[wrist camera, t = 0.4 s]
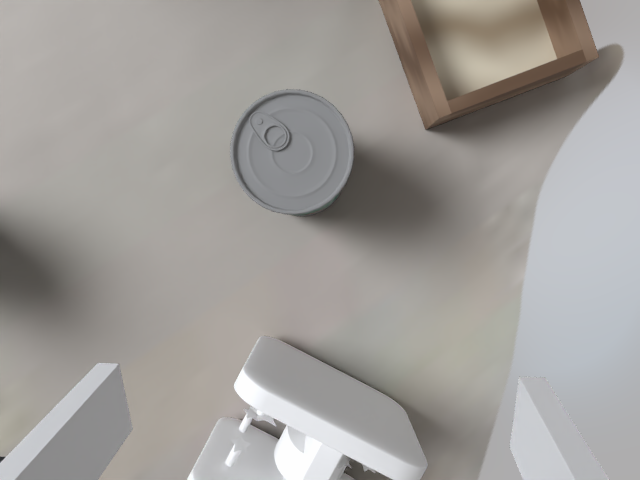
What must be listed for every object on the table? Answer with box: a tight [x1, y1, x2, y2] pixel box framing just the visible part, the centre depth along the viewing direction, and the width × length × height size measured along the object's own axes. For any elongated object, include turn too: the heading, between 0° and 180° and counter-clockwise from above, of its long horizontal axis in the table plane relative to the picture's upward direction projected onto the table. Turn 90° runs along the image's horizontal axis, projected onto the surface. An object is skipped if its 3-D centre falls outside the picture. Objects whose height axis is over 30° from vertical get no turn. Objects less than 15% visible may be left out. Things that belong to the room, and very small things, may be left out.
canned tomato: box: [230, 89, 354, 216], centre depth 33 cm, size 8×8×11 cm
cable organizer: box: [187, 336, 428, 480], centre depth 34 cm, size 15×11×12 cm
